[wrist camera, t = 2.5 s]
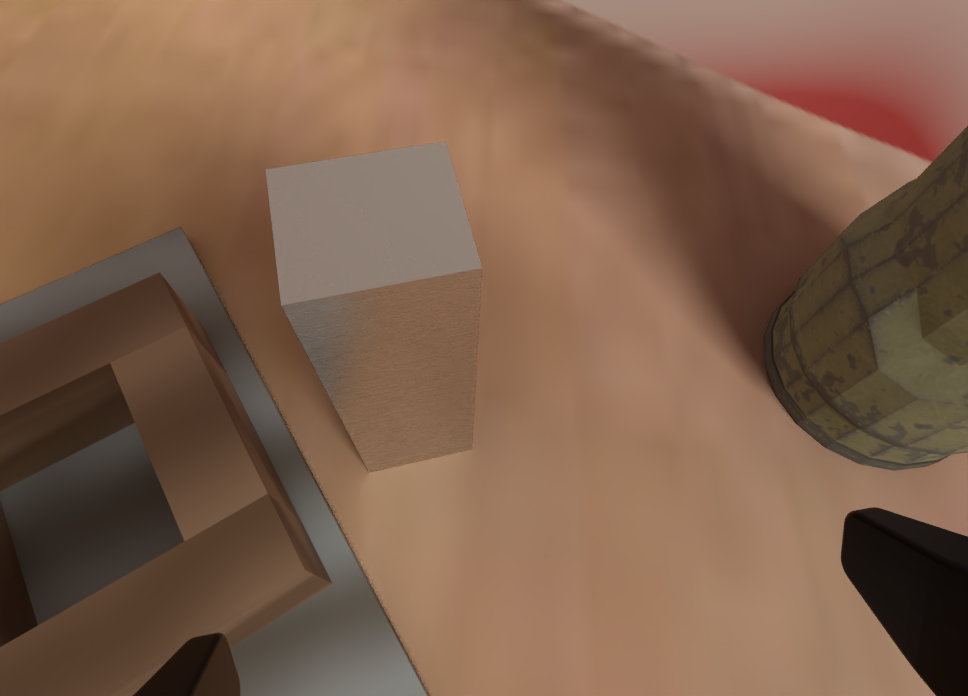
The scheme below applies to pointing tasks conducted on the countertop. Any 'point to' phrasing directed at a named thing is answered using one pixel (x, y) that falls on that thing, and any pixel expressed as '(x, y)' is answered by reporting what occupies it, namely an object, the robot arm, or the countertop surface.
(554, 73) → the countertop surface
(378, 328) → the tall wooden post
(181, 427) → the slotted post block
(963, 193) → the olive cylinder
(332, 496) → the countertop surface
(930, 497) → the countertop surface
